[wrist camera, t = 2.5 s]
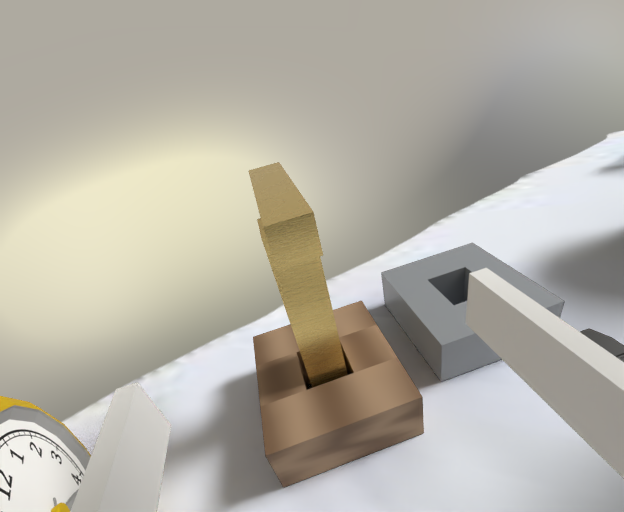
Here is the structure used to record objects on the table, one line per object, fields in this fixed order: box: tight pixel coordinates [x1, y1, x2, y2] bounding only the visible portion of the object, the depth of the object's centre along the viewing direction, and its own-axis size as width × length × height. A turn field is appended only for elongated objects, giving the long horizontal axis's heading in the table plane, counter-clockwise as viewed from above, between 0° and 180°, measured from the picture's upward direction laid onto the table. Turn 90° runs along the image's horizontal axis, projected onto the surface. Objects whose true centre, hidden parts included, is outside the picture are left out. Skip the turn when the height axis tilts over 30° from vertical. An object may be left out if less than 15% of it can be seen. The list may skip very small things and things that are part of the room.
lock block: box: [253, 301, 424, 487], centre depth 28 cm, size 12×12×5 cm
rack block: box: [381, 243, 565, 382], centre depth 33 cm, size 12×12×5 cm
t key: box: [249, 162, 348, 388], centre depth 24 cm, size 3×11×21 cm, turn 14°
